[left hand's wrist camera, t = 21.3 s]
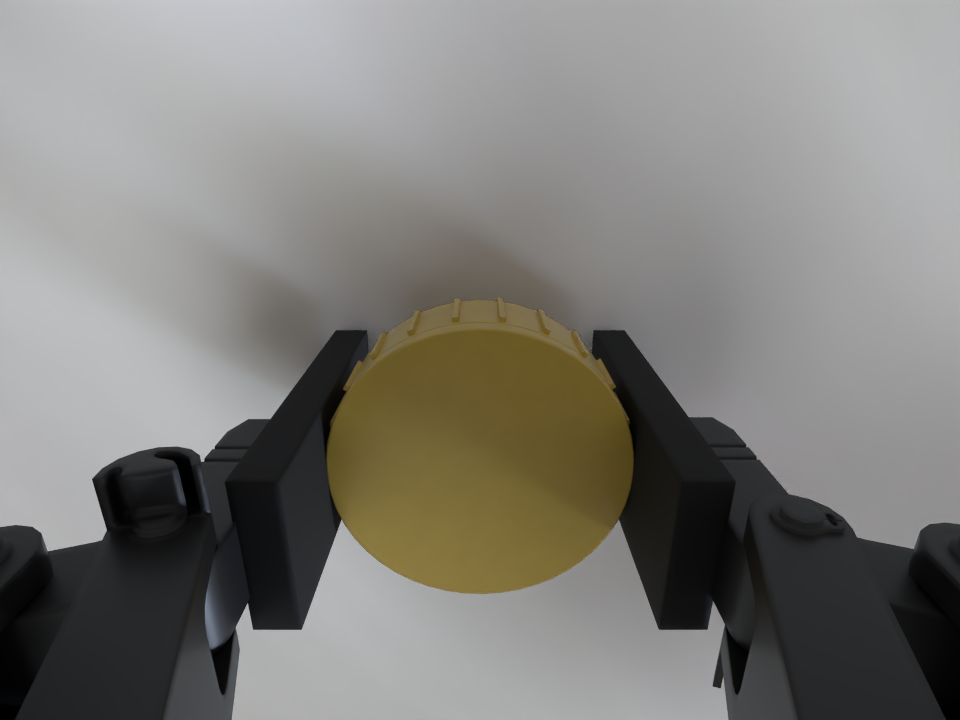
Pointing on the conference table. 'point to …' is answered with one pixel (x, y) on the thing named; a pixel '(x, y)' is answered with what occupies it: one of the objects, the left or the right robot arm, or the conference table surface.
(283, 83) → the conference table surface
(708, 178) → the conference table surface
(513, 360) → the lid
